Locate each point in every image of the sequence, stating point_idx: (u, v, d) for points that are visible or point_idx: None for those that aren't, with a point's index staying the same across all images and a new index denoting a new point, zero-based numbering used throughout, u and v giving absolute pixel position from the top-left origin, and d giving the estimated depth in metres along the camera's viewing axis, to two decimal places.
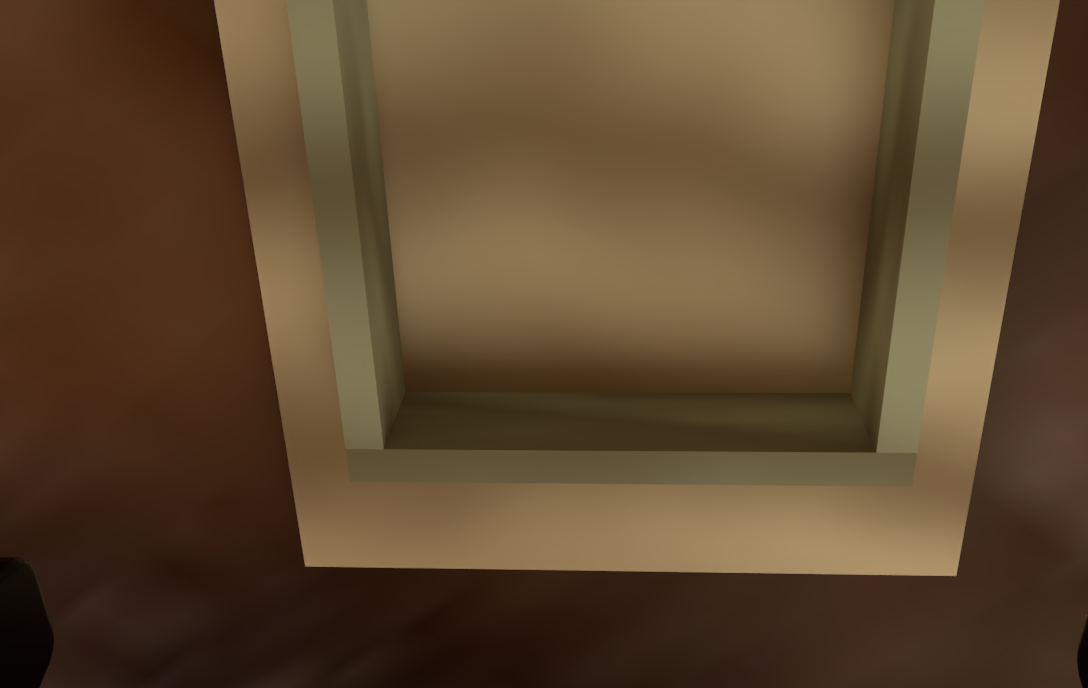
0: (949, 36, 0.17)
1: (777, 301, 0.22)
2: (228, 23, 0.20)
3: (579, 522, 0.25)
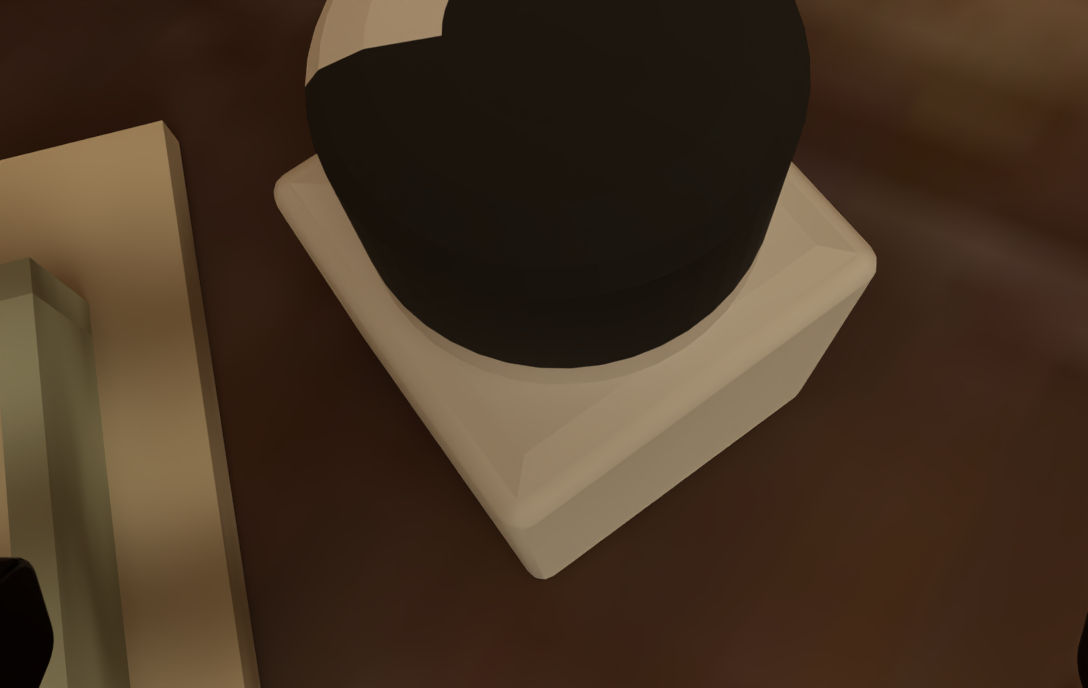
0: (15, 389, 0.20)
1: None
2: None
3: None
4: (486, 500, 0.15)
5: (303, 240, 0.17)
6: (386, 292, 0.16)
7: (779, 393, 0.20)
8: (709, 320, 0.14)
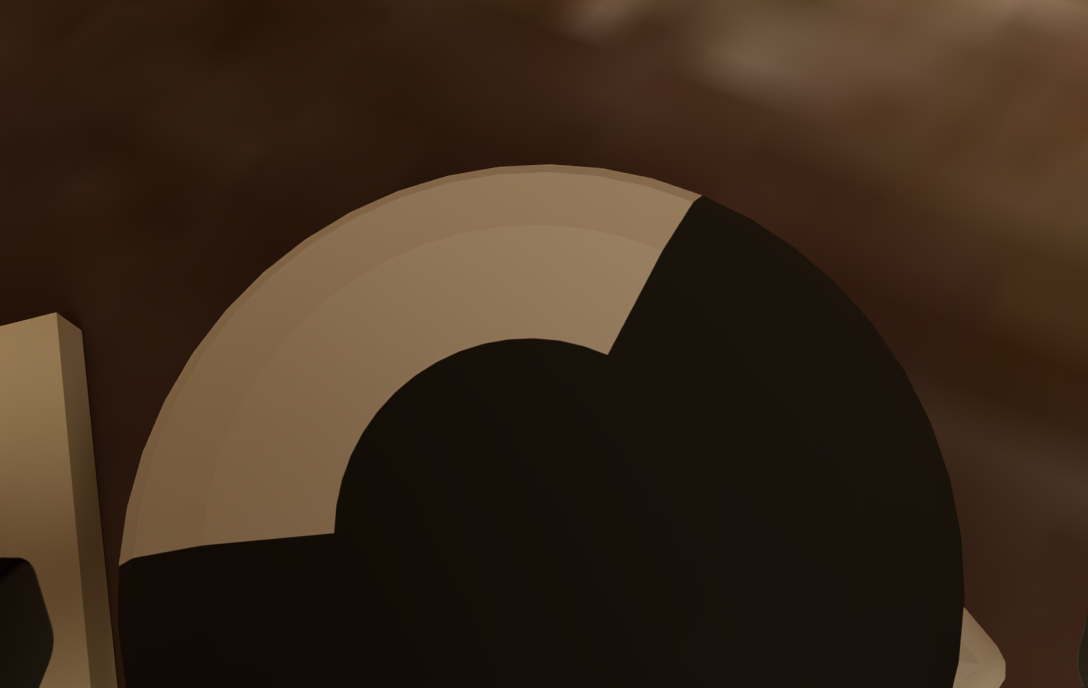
0: None
1: None
2: None
3: None
4: None
5: None
6: None
7: None
8: None
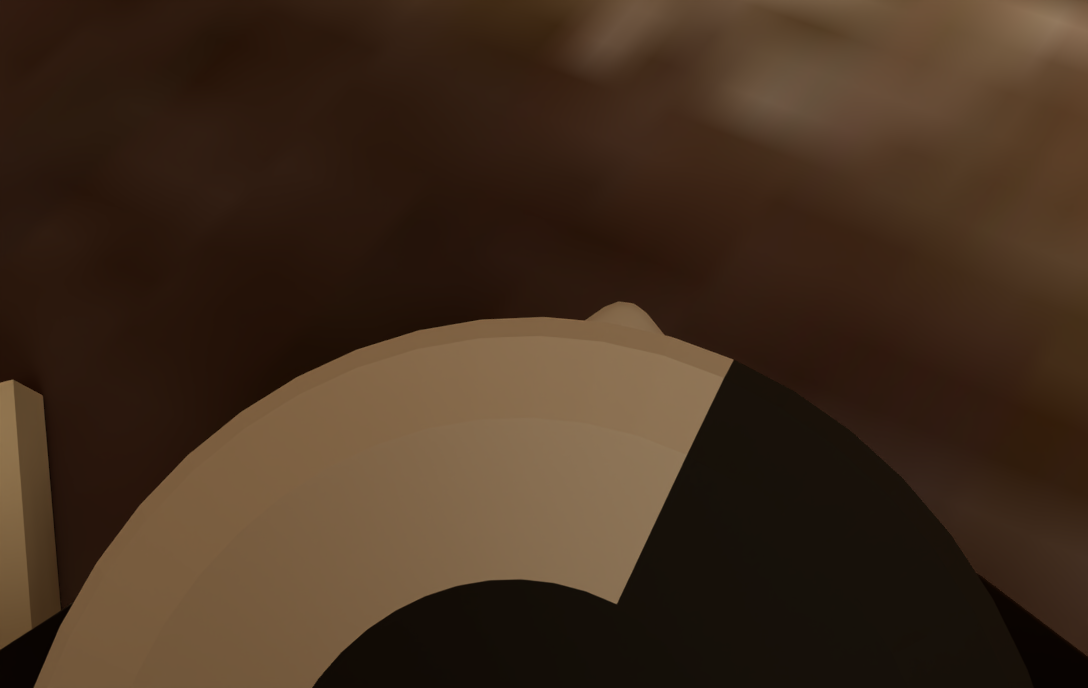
0: None
1: None
2: None
3: None
4: None
5: None
6: None
7: None
8: None
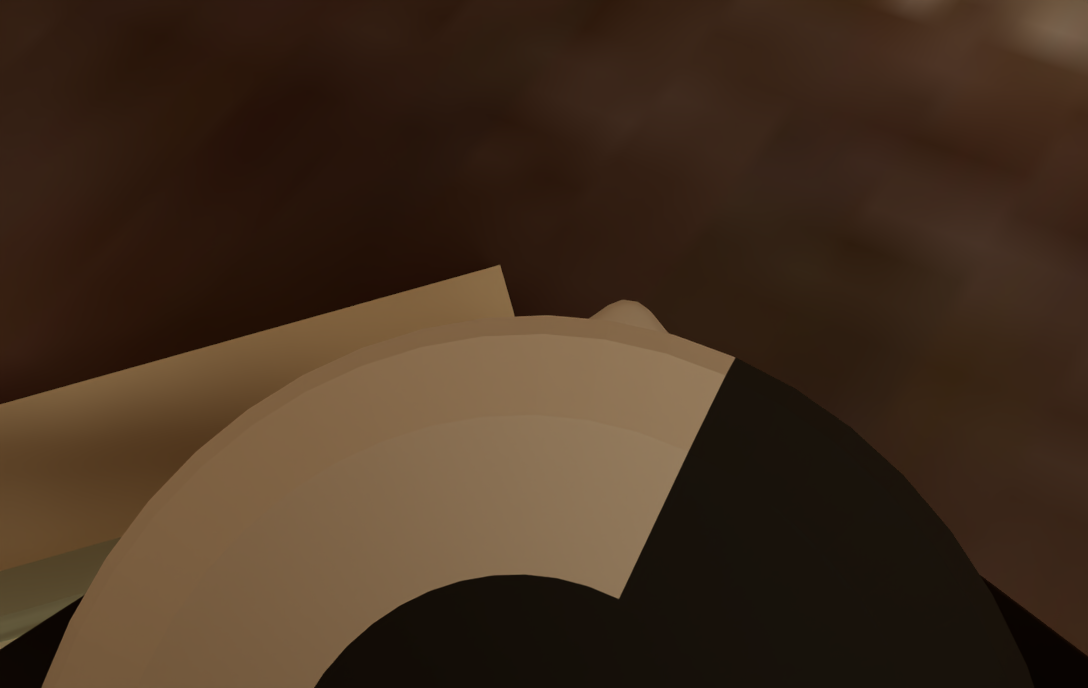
0: None
1: None
2: None
3: None
4: None
5: None
6: None
7: None
8: None
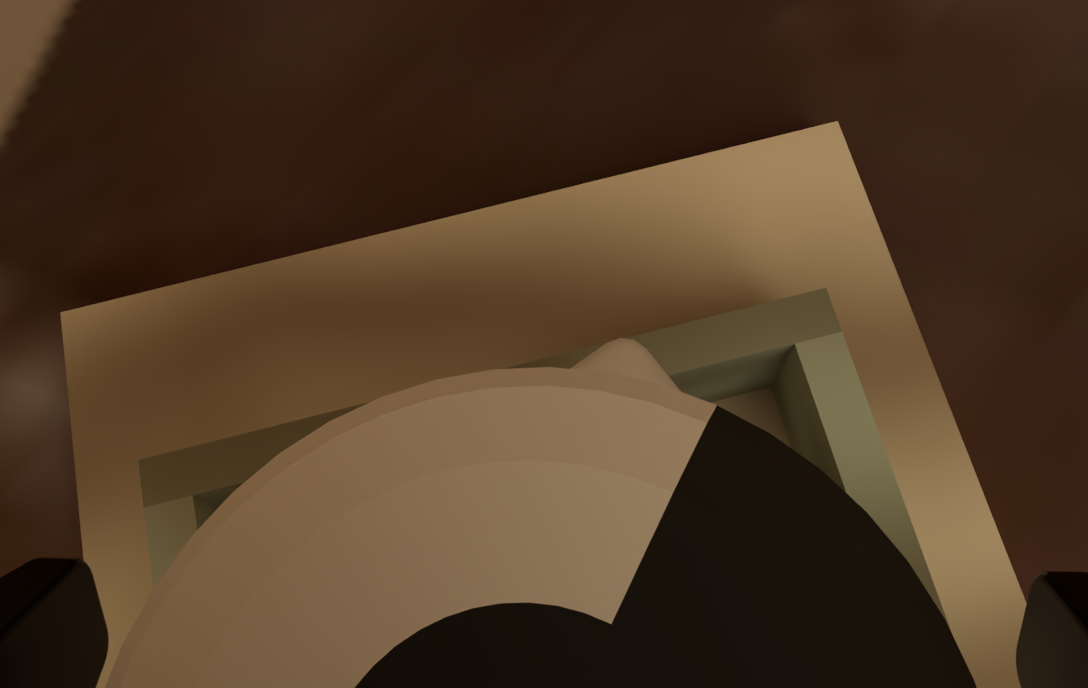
0: (852, 450, 0.16)
1: None
2: None
3: None
4: None
5: None
6: None
7: None
8: None
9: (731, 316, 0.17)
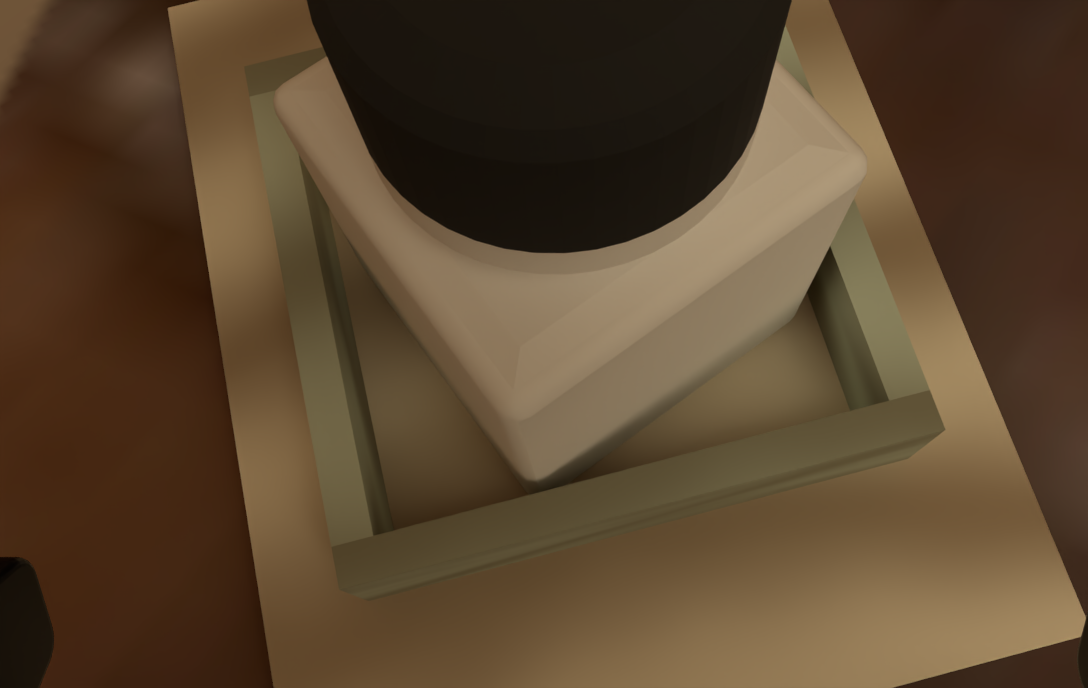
0: None
1: (745, 356, 0.22)
2: (213, 240, 0.24)
3: (626, 677, 0.20)
4: (483, 393, 0.15)
5: (302, 146, 0.17)
6: (384, 193, 0.16)
7: (773, 311, 0.20)
8: (701, 208, 0.14)
9: None
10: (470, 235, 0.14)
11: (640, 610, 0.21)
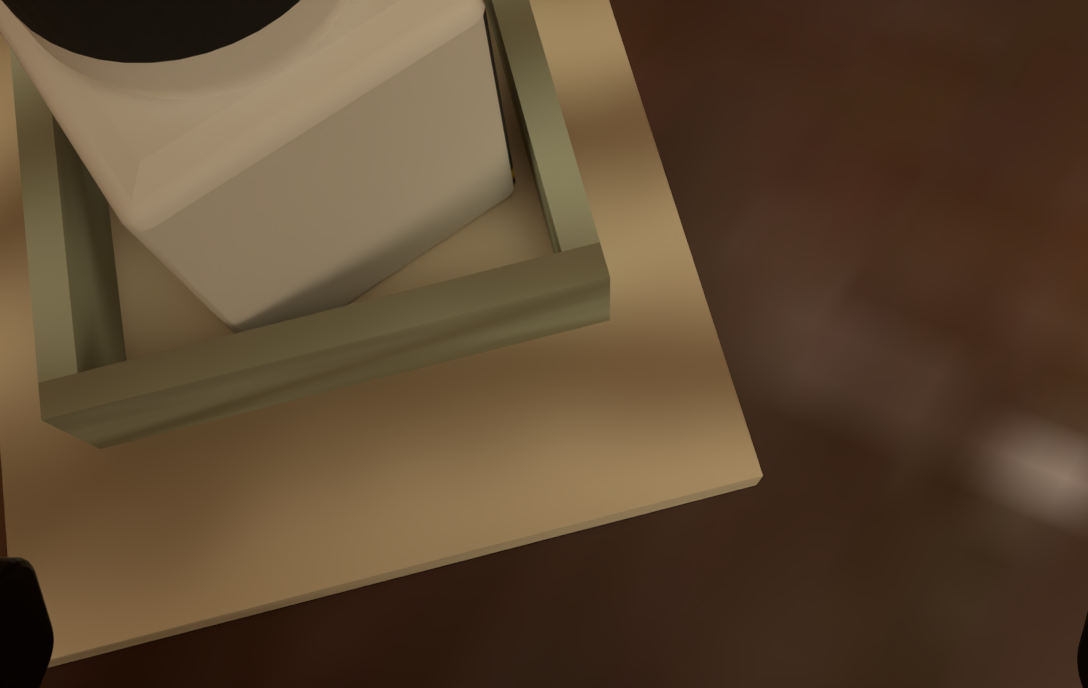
0: None
1: (469, 229, 0.24)
2: None
3: (330, 516, 0.22)
4: (112, 206, 0.17)
5: None
6: None
7: (468, 174, 0.22)
8: (286, 28, 0.16)
9: None
10: (67, 47, 0.15)
11: (349, 456, 0.22)
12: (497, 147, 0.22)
